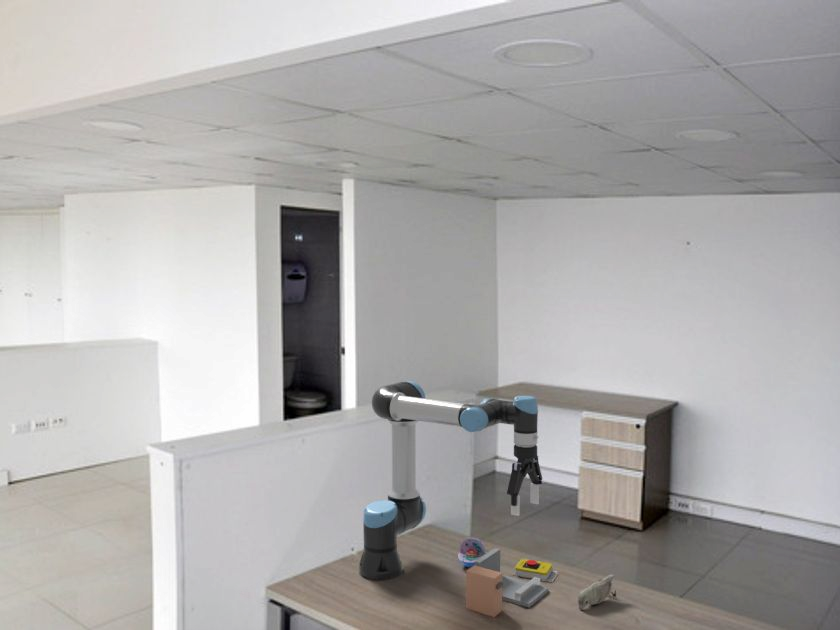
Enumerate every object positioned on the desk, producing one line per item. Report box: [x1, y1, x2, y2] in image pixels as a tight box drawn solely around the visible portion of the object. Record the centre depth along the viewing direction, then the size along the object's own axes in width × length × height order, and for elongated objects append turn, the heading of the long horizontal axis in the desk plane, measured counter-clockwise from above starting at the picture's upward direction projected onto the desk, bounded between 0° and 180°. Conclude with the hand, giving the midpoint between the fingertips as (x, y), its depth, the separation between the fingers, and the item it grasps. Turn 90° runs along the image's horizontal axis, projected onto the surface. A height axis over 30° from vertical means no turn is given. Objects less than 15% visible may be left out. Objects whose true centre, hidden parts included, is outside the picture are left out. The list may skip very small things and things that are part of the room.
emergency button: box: [514, 558, 559, 583], centre depth 253 cm, size 9×4×15 cm
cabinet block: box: [465, 565, 503, 618], centre depth 226 cm, size 11×5×12 cm, turn 55°
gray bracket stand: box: [474, 547, 549, 608], centre depth 239 cm, size 20×14×10 cm
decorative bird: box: [577, 573, 618, 611], centre depth 231 cm, size 5×16×8 cm, turn 128°
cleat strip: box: [515, 577, 541, 601], centre depth 236 cm, size 2×14×2 cm, turn 145°
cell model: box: [457, 537, 488, 569], centre depth 259 cm, size 10×12×10 cm
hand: (525, 509), depth 236 cm, fingers open, 13 cm apart
